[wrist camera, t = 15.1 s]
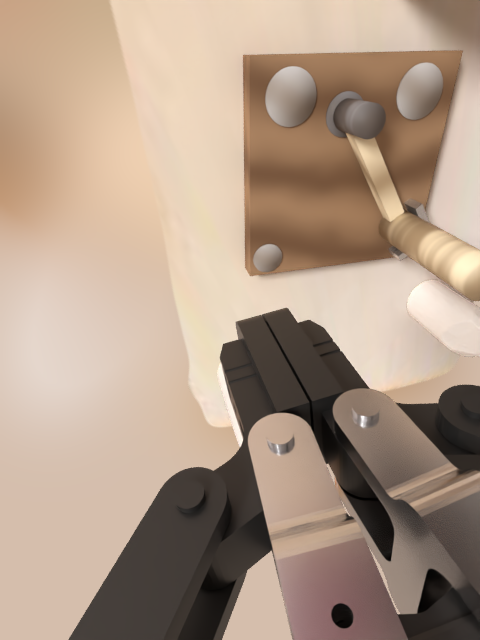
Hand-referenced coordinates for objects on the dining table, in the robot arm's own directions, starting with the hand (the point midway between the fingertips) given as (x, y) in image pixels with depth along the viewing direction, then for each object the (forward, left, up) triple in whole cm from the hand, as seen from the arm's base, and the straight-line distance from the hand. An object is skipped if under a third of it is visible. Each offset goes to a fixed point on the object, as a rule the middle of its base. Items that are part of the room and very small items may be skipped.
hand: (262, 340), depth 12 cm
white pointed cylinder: (+20, +31, -29) cm, 47 cm away
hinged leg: (+3, +19, -27) cm, 33 cm away
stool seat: (+3, +17, -29) cm, 34 cm away
